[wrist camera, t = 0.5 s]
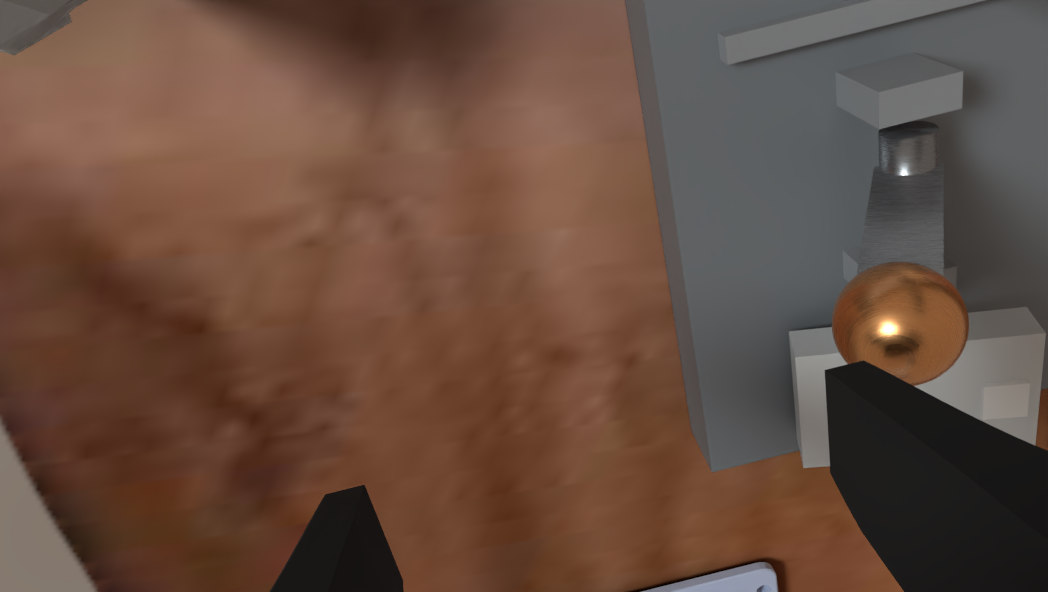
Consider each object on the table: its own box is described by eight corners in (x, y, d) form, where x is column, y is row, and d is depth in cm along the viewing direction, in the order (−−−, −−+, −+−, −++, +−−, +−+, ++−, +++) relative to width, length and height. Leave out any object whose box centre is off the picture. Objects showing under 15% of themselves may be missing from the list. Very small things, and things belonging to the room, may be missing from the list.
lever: (960, 239, 19) (967, 436, 14) (859, 240, 20) (828, 425, 15) (965, 116, 18) (974, 282, 13) (856, 124, 19) (820, 281, 14)
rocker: (1017, 422, 22) (1036, 456, 21) (797, 438, 23) (804, 471, 22) (1026, 306, 20) (1048, 336, 19) (788, 331, 22) (795, 360, 20)
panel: (1004, 368, 26) (1096, 446, 22) (693, 445, 26) (737, 536, 22) (1046, -252, 18) (1198, -282, 15) (603, -141, 18) (648, -143, 15)
